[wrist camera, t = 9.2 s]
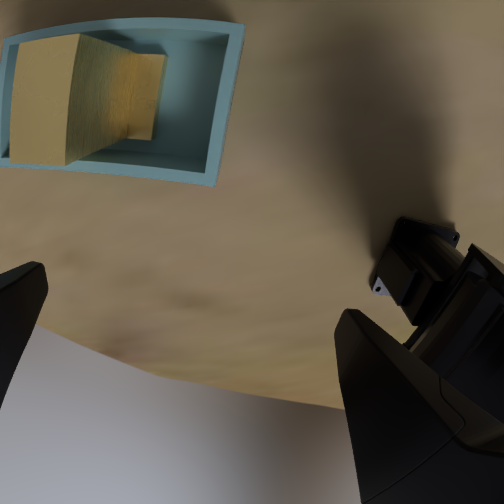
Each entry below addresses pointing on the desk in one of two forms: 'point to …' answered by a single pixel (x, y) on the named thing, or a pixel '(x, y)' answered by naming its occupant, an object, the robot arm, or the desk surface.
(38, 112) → the brass bracket
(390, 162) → the desk surface
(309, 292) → the desk surface
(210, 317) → the desk surface
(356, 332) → the robot arm
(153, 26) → the blue rectangular open bin
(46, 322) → the desk surface
